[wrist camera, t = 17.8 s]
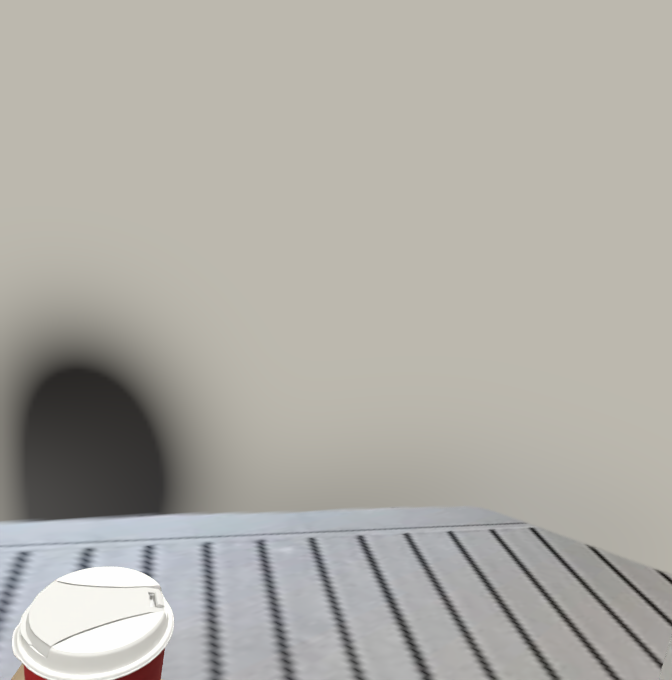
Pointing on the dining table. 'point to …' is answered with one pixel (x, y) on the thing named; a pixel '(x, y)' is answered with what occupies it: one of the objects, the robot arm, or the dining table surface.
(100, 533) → the dining table surface
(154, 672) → the paper cup
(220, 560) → the dining table surface
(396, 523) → the dining table surface
